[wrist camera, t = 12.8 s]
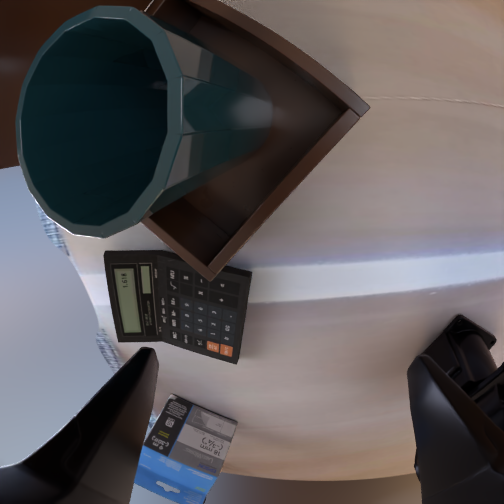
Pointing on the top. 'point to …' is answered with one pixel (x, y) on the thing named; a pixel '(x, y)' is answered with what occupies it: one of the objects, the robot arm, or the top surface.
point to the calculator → (177, 303)
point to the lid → (30, 52)
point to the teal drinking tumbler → (131, 119)
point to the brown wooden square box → (275, 147)
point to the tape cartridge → (184, 451)
